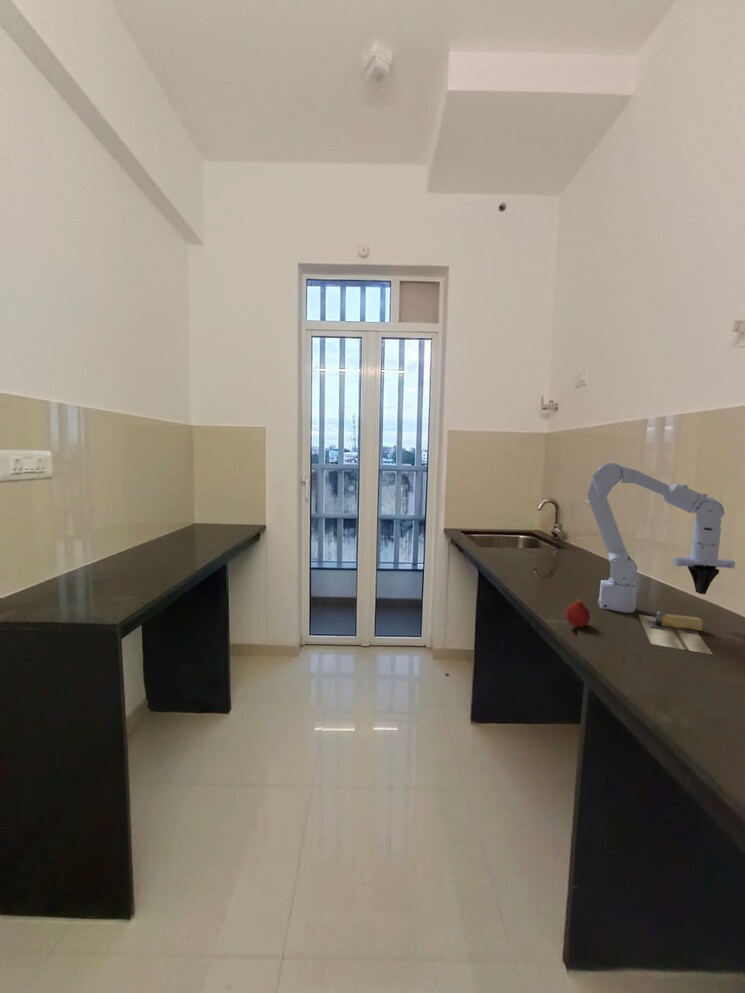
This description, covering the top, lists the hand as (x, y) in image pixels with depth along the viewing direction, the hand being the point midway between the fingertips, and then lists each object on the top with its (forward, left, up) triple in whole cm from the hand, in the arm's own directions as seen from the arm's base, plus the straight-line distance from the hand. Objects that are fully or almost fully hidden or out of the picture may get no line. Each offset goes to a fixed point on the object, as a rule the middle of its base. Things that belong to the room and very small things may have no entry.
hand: (700, 592), depth 117 cm
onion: (-30, -17, -10) cm, 36 cm away
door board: (-8, -12, -9) cm, 17 cm away
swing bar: (-6, -7, -8) cm, 12 cm away
